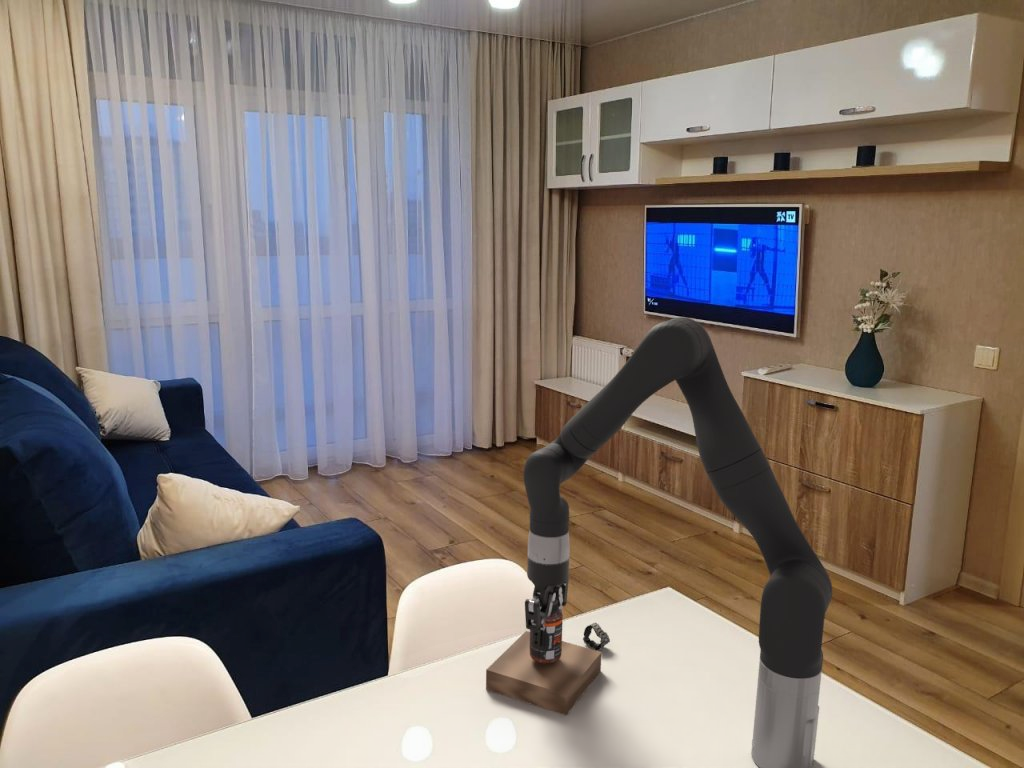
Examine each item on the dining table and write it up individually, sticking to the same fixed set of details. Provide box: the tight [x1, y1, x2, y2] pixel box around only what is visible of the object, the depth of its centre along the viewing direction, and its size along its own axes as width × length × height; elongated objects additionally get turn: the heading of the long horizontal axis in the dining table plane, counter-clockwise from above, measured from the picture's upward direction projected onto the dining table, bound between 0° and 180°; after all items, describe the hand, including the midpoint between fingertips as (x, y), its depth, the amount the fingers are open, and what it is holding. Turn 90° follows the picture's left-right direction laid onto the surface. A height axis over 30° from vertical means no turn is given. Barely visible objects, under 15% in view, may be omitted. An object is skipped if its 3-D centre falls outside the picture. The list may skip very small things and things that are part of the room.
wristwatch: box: [582, 622, 611, 651], centre depth 165 cm, size 3×5×5 cm
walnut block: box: [485, 630, 602, 716], centre depth 152 cm, size 16×16×4 cm
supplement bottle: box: [529, 599, 564, 663], centre depth 151 cm, size 6×6×11 cm
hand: (546, 638), depth 151 cm, fingers closed on supplement bottle, 6 cm apart
